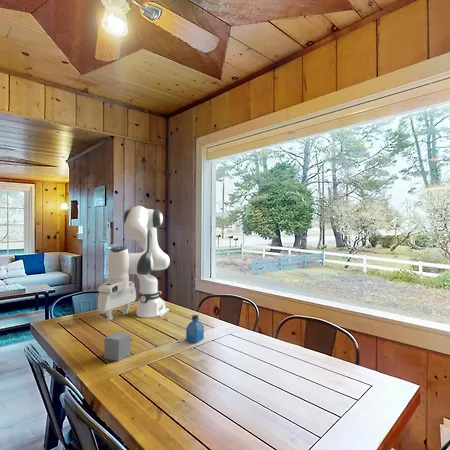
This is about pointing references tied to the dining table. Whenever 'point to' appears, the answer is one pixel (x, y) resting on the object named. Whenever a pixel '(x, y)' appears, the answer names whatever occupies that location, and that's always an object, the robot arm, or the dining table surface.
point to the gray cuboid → (117, 346)
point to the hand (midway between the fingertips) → (118, 316)
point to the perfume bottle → (195, 330)
